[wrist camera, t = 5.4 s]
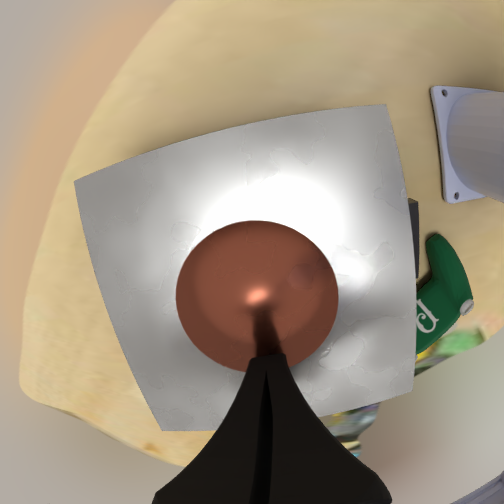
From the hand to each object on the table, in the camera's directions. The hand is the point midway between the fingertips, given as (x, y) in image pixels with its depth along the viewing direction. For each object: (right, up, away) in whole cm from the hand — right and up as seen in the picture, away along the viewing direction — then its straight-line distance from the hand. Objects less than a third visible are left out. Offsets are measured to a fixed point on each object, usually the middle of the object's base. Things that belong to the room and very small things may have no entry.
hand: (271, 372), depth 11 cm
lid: (-1, +3, +1) cm, 3 cm away
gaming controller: (+11, +2, +9) cm, 14 cm away
